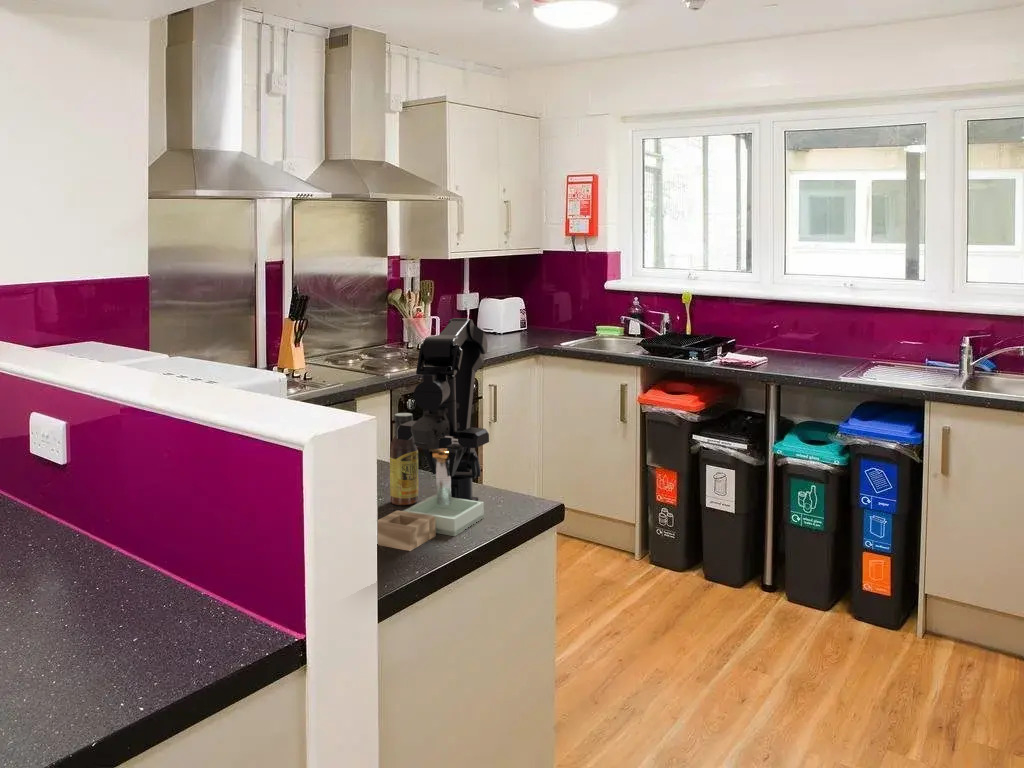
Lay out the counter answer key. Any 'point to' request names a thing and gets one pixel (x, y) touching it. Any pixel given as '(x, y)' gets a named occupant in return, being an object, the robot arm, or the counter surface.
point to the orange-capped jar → (442, 476)
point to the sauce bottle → (403, 466)
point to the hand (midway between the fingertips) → (443, 474)
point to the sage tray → (450, 514)
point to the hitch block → (405, 530)
